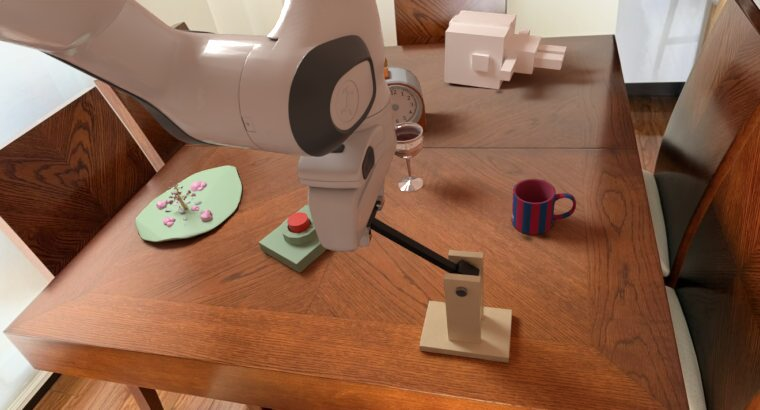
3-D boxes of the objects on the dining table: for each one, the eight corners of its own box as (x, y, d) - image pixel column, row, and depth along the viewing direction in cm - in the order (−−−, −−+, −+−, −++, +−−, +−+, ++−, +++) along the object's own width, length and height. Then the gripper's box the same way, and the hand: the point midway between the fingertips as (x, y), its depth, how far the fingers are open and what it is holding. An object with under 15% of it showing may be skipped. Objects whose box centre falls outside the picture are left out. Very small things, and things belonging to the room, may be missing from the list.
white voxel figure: (550, 111, 116) (434, 94, 125) (564, 64, 133) (461, 52, 142) (561, 50, 106) (435, 37, 115) (575, 8, 123) (464, -1, 132)
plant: (172, 170, 115) (156, 137, 109) (258, 165, 112) (245, 131, 106) (118, 248, 96) (95, 212, 90) (219, 245, 93) (202, 208, 87)
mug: (514, 207, 90) (516, 176, 85) (574, 214, 86) (579, 183, 82) (508, 232, 85) (509, 201, 81) (571, 241, 82) (575, 209, 77)
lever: (355, 238, 60) (363, 227, 59) (366, 211, 64) (374, 200, 62) (465, 300, 62) (477, 290, 61) (470, 270, 66) (481, 261, 65)
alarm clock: (362, 140, 114) (351, 85, 105) (361, 121, 120) (352, 68, 112) (427, 131, 113) (422, 75, 104) (423, 113, 120) (418, 59, 111)
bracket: (419, 350, 70) (410, 284, 61) (429, 305, 75) (422, 239, 67) (508, 363, 66) (512, 295, 58) (512, 314, 72) (515, 246, 63)
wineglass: (407, 199, 96) (400, 146, 88) (387, 183, 100) (379, 132, 93) (435, 184, 98) (430, 131, 90) (414, 169, 103) (408, 118, 95)
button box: (299, 273, 84) (293, 256, 82) (261, 251, 90) (255, 234, 87) (346, 231, 91) (342, 214, 88) (308, 213, 96) (304, 196, 94)
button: (299, 236, 86) (297, 228, 85) (285, 228, 88) (283, 221, 87) (314, 223, 88) (311, 216, 87) (300, 217, 90) (297, 209, 89)
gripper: (351, 81, 61) (368, 172, 70) (289, 183, 46) (319, 283, 55) (402, 80, 59) (412, 174, 68) (354, 186, 45) (374, 289, 53)
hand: (370, 224), depth 61 cm, fingers closed on lever, 5 cm apart
